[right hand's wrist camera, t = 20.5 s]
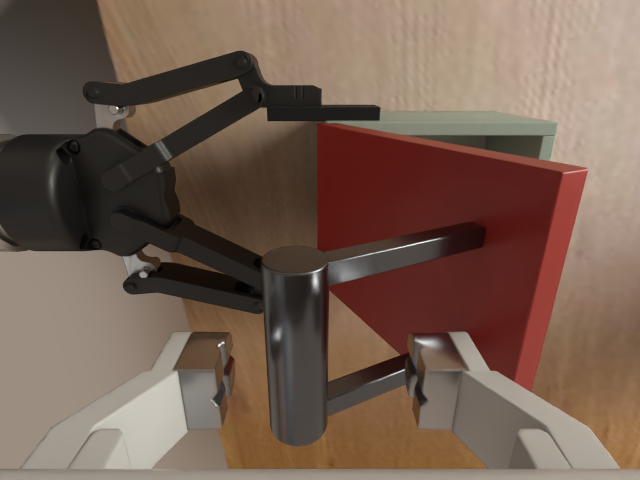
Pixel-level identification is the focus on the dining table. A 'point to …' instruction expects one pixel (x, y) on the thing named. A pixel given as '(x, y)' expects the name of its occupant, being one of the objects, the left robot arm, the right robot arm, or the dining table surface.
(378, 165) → the lid
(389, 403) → the dining table surface
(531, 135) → the chest
